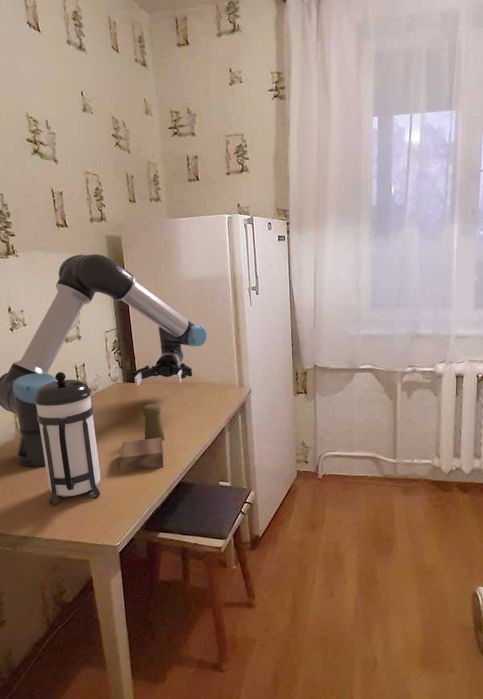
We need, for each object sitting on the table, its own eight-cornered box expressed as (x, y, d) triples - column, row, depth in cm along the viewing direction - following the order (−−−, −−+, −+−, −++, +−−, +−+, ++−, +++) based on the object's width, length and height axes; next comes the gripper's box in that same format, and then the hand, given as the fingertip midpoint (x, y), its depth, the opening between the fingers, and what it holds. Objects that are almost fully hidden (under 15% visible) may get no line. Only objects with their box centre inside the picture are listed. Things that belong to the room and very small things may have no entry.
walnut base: (120, 471, 132) (119, 457, 131) (123, 455, 142) (122, 442, 142) (163, 466, 133) (161, 452, 133) (163, 450, 144) (161, 437, 143)
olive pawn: (166, 435, 156) (163, 401, 153) (161, 443, 150) (158, 408, 147) (147, 436, 156) (144, 402, 154) (142, 443, 150) (138, 408, 148)
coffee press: (26, 499, 120) (7, 378, 114) (82, 473, 133) (67, 362, 127) (72, 518, 110) (53, 386, 104) (127, 487, 123) (113, 368, 117)
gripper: (203, 372, 181) (197, 389, 160) (134, 376, 182) (119, 394, 161) (201, 351, 179) (195, 366, 158) (132, 356, 180) (116, 371, 159)
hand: (157, 380), depth 160 cm, fingers open, 13 cm apart
